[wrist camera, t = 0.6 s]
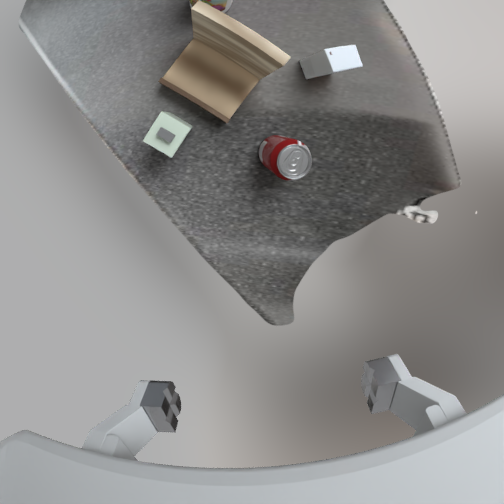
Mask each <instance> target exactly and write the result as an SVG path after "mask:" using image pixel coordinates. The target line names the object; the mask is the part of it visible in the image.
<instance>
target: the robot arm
mask: <svg viewBox="0 0 504 504" xmlns="http://www.w3.org/2000/svg"><path fill="white" fill-rule="evenodd" d="M363 369H364V372H365V373H364V374H363V375H362V380H361V382H362V390H363V393H364V396H366V397H368V401H367V404H368V407H369V409H370V412H371V414H373V413H378V412H382V411H386V410H390V411H391V412H392V413H394V414H395V415H396V416H398V417H399V418H400V419H402V420H403V421H405V422H406V423H407V424H408V425H410V426H411V427H413V428H414V429H415V430H416V432H415V434H414V436H413V437H410V438H408V439H405V440H402V441H399V442H395V443H392V444H389V445H386V446H382V447H379V448H375V449H371V450H368V451H364V452H359V453H355V454H351V455H346V456H342V457H337V458H331V459H326V460H320V461H315V462H308V463H300V464H292V465H283V466H271V467H257V468H199V467H183V466H172V465H163V464H154V463H147V462H140V461H138V460H137V459H136V458H135V457H134V456H135V455H136V454H137V453H138V452H139V451H140V450H141V449H142V448H143V447H144V446H145V445H146V444H147V443H148V442H149V441H150V440H151V439H152V438H153V437H154V436H155V435H156V434H157V432H175V431H176V427H177V423H178V420H177V418H176V416H178V415H179V414H180V411H181V400H180V397H179V394H178V393H176V392H175V391H174V390H175V386H174V383H173V382H171V381H147V380H141V381H139V382H138V385H137V387H136V389H135V392H134V394H133V396H132V398H131V401H130V403H129V405H125V406H124V407H122V408H121V409H120V410H118V411H117V412H115V413H114V414H112V415H111V416H110V417H108V418H107V419H105V420H104V421H102V422H101V423H100V424H98V425H97V426H96V427H94V428H92V429H91V430H90V432H89V434H88V436H87V438H86V440H85V443H84V445H83V447H82V449H81V448H77V447H74V446H71V445H67V444H64V443H61V442H58V441H55V440H52V439H50V438H47V437H44V436H41V435H39V434H36V433H34V432H31V431H28V430H22V431H20V432H17V433H15V434H13V435H11V436H9V437H8V438H6V439H4V440H2V441H1V442H0V504H504V394H503V395H501V396H499V397H498V398H496V399H494V400H493V401H491V402H489V403H487V404H485V405H484V406H482V407H480V408H478V409H476V410H474V411H472V412H470V413H468V414H466V412H465V411H464V409H463V407H462V406H461V404H460V403H459V401H458V400H457V398H456V397H455V396H454V395H452V394H450V393H447V392H446V391H444V390H442V389H440V388H437V387H435V386H433V385H431V384H429V383H427V382H425V381H423V380H421V379H419V378H417V377H412V376H411V375H410V373H409V371H408V370H407V368H406V366H405V365H404V363H403V362H402V360H401V358H400V357H399V355H397V354H394V355H391V356H387V357H383V358H378V359H374V360H370V361H365V363H364V366H363Z"/></svg>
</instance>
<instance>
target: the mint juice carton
mask: <svg viewBox="0 0 504 504" xmlns="http://www.w3.org/2000/svg"><path fill="white" fill-rule="evenodd" d="M192 127H193V126H192V125H190V124H189V123H187V122H185V121H184V120H182V119H180V118H179V117H177V116H175V115H174V114H172V113H169V112H163V111H161V113H160V114H159V116H158V118H157V119H156V121H155V122H154V124H153V125H152V127H151V129H150V130H149V132H148V133H147V135H146V137H145V138H144V140H143V141H144V142H145V143H147V144H149V145H151V146H152V147H154V148H156V149H157V150H159V151H161V152H163V153H164V154H166V155H168V156H169V157H171V158H172V157H173V155H174V154H175V153H176V151H177V150H178V148H179V147H180V145H181V144H182V142H183V141H184V139H185V138H186V136H187V135H188V133H189V132H190V130H191V129H192Z"/></svg>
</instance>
